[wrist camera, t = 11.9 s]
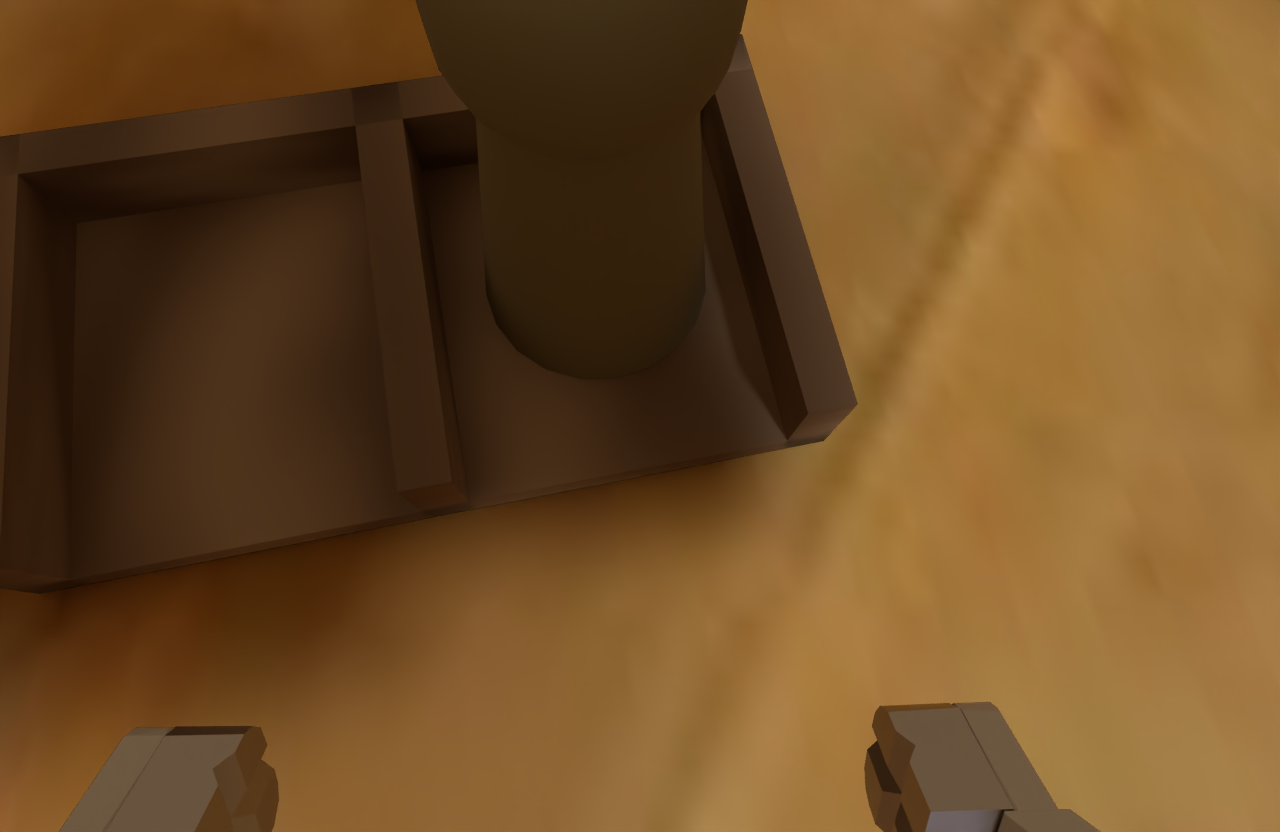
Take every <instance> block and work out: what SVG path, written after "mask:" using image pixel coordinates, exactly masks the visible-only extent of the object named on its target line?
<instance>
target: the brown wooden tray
mask: <svg viewBox="0 0 1280 832" xmlns="http://www.w3.org/2000/svg"><path fill="white" fill-rule="evenodd" d="M700 122H701V155H702V187H703V219H704V251H705V283H706V291H705V295H704V298H703V302H702V305H701V309H700V312H699V316H698V319H697V321H696V323H695V324H694V326H693V327H692V328H691V330H690V331H689V333H688V334H687V335H686V337H685V338H684V340H683V341H682V342H681V344H680V345H679V347H678V348H676V349H675V350H673V351H672V352H671V353H669V354H668V355H666V356H665V357H664V358H662V359H661V360H659V361H658V362H657V363H655V364H654V365H652V366H651V367H649V368H646V369H643V370H640V371H637V372H634V373H631V374H628V375H625V376H622V377H619V378H602V379H579V378H575V377H571V376H568V375H564V374H561V373H557V372H553V371H550V370H546V369H545V368H543V367H541V366H540V365H538V364H537V363H535V362H534V361H532V360H531V359H529V358H528V357H526V356H524V355H523V354H521V353H520V352H518V351H517V350H516V349H515V348H514V346H513V345H512V344H511V342H510V341H509V340H508V339H507V337H506V336H505V335H504V334H503V332H502V331H501V330H500V329H499V327H498V326H497V325H496V322H495V319H494V316H493V313H492V310H491V307H490V304H489V301H488V298H487V295H486V282H485V266H484V249H483V232H482V215H481V198H480V181H479V164H478V148H477V131H476V117H475V116H474V115H473V114H472V112H471V111H470V110H469V109H468V108H467V107H466V105H465V104H464V103H463V102H462V101H461V100H460V98H459V97H458V96H457V95H456V94H455V92H454V91H453V89H452V88H451V87H450V85H449V84H448V82H447V81H446V79H445V78H444V76H436V77H428V78H421V79H414V80H407V81H399V82H392V83H385V84H378V85H371V86H363V87H356V88H349V89H342V90H334V91H327V92H320V93H313V94H306V95H298V96H291V97H284V98H277V99H269V100H262V101H255V102H248V103H241V104H233V105H226V106H219V107H212V108H205V109H197V110H190V111H183V112H176V113H168V114H161V115H154V116H147V117H140V118H132V119H125V120H118V121H111V122H103V123H96V124H89V125H82V126H75V127H67V128H60V129H53V130H46V131H38V132H31V133H24V134H17V135H10V136H2V137H0V588H2V589H10V590H17V591H24V592H32V593H39V594H40V593H46V592H51V591H56V590H61V589H66V588H71V587H76V586H81V585H87V584H92V583H97V582H102V581H107V580H112V579H117V578H122V577H128V576H133V575H138V574H143V573H148V572H153V571H158V570H164V569H169V568H174V567H179V566H184V565H189V564H194V563H199V562H205V561H210V560H215V559H220V558H225V557H230V556H235V555H241V554H246V553H251V552H256V551H261V550H266V549H271V548H276V547H282V546H287V545H292V544H297V543H302V542H307V541H312V540H317V539H323V538H328V537H333V536H338V535H343V534H348V533H353V532H359V531H364V530H369V529H374V528H379V527H384V526H389V525H394V524H400V523H405V522H410V521H415V520H420V519H425V518H430V517H436V516H441V515H446V514H451V513H456V512H461V511H466V510H471V509H477V508H482V507H487V506H492V505H497V504H502V503H507V502H512V501H518V500H523V499H528V498H533V497H538V496H543V495H548V494H554V493H559V492H564V491H569V490H574V489H579V488H584V487H589V486H595V485H600V484H605V483H610V482H615V481H620V480H625V479H630V478H636V477H641V476H646V475H651V474H656V473H661V472H666V471H672V470H677V469H682V468H687V467H692V466H697V465H702V464H707V463H713V462H718V461H723V460H728V459H733V458H738V457H743V456H749V455H754V454H759V453H764V452H769V451H774V450H779V449H784V448H790V447H795V446H800V445H805V444H810V443H815V442H820V441H824V440H825V439H826V438H827V437H828V436H829V435H830V433H831V432H832V431H833V430H834V429H835V428H836V427H837V426H838V425H839V424H840V423H841V422H842V421H843V419H844V418H845V417H846V416H847V415H848V414H849V413H850V412H851V411H852V410H853V409H854V408H855V406H856V405H857V404H858V403H857V400H856V397H855V394H854V391H853V388H852V384H851V381H850V378H849V375H848V372H847V368H846V365H845V362H844V359H843V356H842V352H841V349H840V346H839V343H838V340H837V336H836V333H835V330H834V327H833V324H832V320H831V317H830V314H829V311H828V308H827V304H826V301H825V298H824V295H823V292H822V288H821V285H820V282H819V279H818V276H817V272H816V269H815V266H814V263H813V260H812V257H811V253H810V250H809V247H808V244H807V241H806V237H805V234H804V231H803V228H802V225H801V221H800V218H799V215H798V212H797V209H796V205H795V202H794V199H793V196H792V193H791V189H790V186H789V183H788V180H787V177H786V173H785V170H784V167H783V164H782V161H781V157H780V154H779V151H778V148H777V145H776V141H775V138H774V135H773V132H772V129H771V126H770V122H769V119H768V116H767V113H766V110H765V106H764V103H763V100H762V97H761V94H760V90H759V87H758V84H757V81H756V78H755V74H754V71H753V68H752V65H751V62H750V58H749V55H748V52H747V49H746V46H745V42H744V39H743V36H742V34H740V35H739V39H738V42H737V45H736V48H735V51H734V55H733V58H732V61H731V64H730V68H729V70H728V71H727V73H726V75H725V77H724V78H723V80H722V82H721V84H720V85H719V87H718V89H717V91H716V92H715V93H714V95H713V96H712V97H711V98H710V100H709V101H708V102H707V103H706V105H705V106H704V107H703V108H702V110H701V111H700Z"/></svg>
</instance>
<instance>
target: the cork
mask: <svg viewBox="0 0 1280 832" xmlns="http://www.w3.org/2000/svg"><path fill="white" fill-rule="evenodd" d="M747 1H748V0H416V3H417V6H418V9H419V12H420V16H421V19H422V22H423V25H424V28H425V31H426V34H427V37H428V40H429V43H430V46H431V48H432V51H433V54H434V57H435V60H436V63H437V65H438V68H439V70H440V72H441V73H442V75H443V76H444V78H445V79H446V81H447V82H448V84H449V85H450V87H451V88H452V89H453V91H454V92H455V94H456V95H457V96H458V97H459V98H460V100H461V101H462V102H463V103H464V104H465V105H466V107H467V108H468V109H469V110H470V111H471V112H472V114H473V115H474V116H475V117H476V131H477V148H478V164H479V181H480V198H481V215H482V232H483V249H484V266H485V282H486V295H487V298H488V301H489V304H490V307H491V310H492V313H493V316H494V319H495V322H496V325H497V326H498V327H499V329H500V330H501V331H502V332H503V334H504V335H505V336H506V337H507V339H508V340H509V341H510V342H511V344H512V345H513V346H514V348H515V349H516V350H517V351H518V352H520V353H521V354H523V355H524V356H526V357H528V358H529V359H531V360H532V361H534V362H535V363H537V364H538V365H540V366H541V367H543V368H545V369H546V370H550V371H553V372H557V373H561V374H564V375H568V376H571V377H575V378H579V379H602V378H619V377H622V376H625V375H628V374H631V373H634V372H637V371H640V370H643V369H646V368H649V367H651V366H652V365H654V364H655V363H657V362H658V361H659V360H661V359H662V358H664V357H665V356H666V355H668V354H669V353H671V352H672V351H673V350H675V349H676V348H678V347H679V345H680V344H681V342H682V341H683V340H684V338H685V337H686V335H687V334H688V333H689V331H690V330H691V328H692V327H693V326H694V324H695V323H696V321H697V319H698V316H699V312H700V309H701V305H702V302H703V298H704V295H705V291H706V283H705V251H704V219H703V187H702V155H701V122H700V111H701V110H702V108H703V107H704V106H705V105H706V103H707V102H708V101H709V100H710V98H711V97H712V96H713V95H714V93H715V92H716V91H717V89H718V87H719V85H720V84H721V82H722V80H723V78H724V77H725V75H726V73H727V71H728V70H729V68H730V64H731V61H732V58H733V55H734V51H735V48H736V45H737V42H738V39H739V35H740V32H741V28H742V24H743V19H744V15H745V10H746V5H747Z"/></svg>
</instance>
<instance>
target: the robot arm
mask: <svg viewBox="0 0 1280 832" xmlns="http://www.w3.org/2000/svg"><path fill="white" fill-rule="evenodd" d="M872 728H873V730H874V733H875V735H876V738H877V741H876V742H875V743H874V744H873V745H872V746H871V747H870V748H868V749H867V754H866V760H865V767H864V770H865V787H866V793H867V797H868V802H869V806H870V809H871V812H872V815H873V818H874V821H875V824H876V825H877V826H878V827H879V828H880V829H882V830H883V831H884V832H1101V831H1099V830H1098V829H1096V828H1095V827H1094V826H1092V825H1091V824H1090V823H1088V822H1087V821H1085V820H1084V819H1083V818H1081V817H1080V816H1079V815H1077V814H1076V813H1074V812H1073V811H1072V810H1070V809H1058V808H1057V806H1056V804H1055V803H1054V801H1053V799H1052V798H1051V796H1050V794H1049V793H1048V791H1047V789H1046V788H1045V786H1044V784H1043V783H1042V781H1041V779H1040V778H1039V776H1038V774H1037V773H1036V771H1035V769H1034V768H1033V766H1032V764H1031V763H1030V761H1029V759H1028V758H1027V756H1026V754H1025V753H1024V751H1023V749H1022V748H1021V746H1020V744H1019V743H1018V741H1017V739H1016V738H1015V736H1014V734H1013V733H1012V731H1011V729H1010V728H1009V726H1008V724H1007V723H1006V721H1005V719H1004V718H1003V716H1002V714H1001V713H1000V711H999V709H998V708H997V707H996V706H995V705H993V704H992V703H991V702H976V703H953V704H950V703H937V704H914V705H891V706H879V708H878V709H877V710H876V712H875V715H874V719H873V724H872ZM266 747H267V743H266V740H265V737H264V735H263V732H262V729H261V727H254V726H202V727H139V728H135V729H134V730H132V731H131V732H130V733H128V734H127V735H126V736H124V737H123V738H122V740H121V741H120V743H119V744H118V746H117V747H116V748H115V750H114V751H113V753H112V754H111V756H110V757H109V759H108V760H107V762H106V763H105V765H104V766H103V768H102V769H101V770H100V772H99V773H98V775H97V776H96V778H95V779H94V781H93V782H92V784H91V785H90V787H89V788H88V790H87V791H86V793H85V794H84V795H83V797H82V798H81V800H80V801H79V803H78V804H77V806H76V807H75V809H74V810H73V812H72V813H71V815H70V816H69V817H68V819H67V820H66V822H65V823H64V825H63V826H62V828H61V829H60V831H59V832H272V829H273V827H274V823H275V818H276V813H277V807H278V802H279V793H278V781H277V777H276V773H275V770H274V769H273V768H272V767H271V766H269V765H268V764H267V763H265V762H264V761H263V760H261V758H262V756H263V754H264V752H265V749H266Z"/></svg>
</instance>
